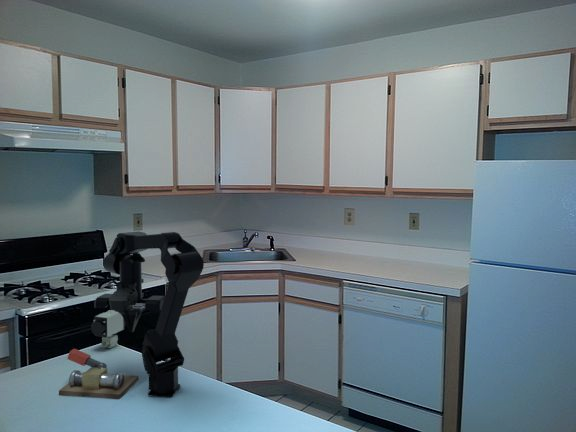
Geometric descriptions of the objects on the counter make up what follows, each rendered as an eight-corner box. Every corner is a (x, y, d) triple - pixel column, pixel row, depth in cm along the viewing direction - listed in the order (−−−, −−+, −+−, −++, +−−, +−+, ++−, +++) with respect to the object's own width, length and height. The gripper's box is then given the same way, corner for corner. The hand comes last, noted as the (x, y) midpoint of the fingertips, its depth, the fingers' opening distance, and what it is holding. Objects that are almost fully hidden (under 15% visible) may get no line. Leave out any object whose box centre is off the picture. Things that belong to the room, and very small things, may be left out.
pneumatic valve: (127, 341, 152) (127, 306, 151) (103, 353, 141) (102, 316, 140) (114, 339, 154) (113, 304, 153) (88, 351, 143) (88, 314, 142)
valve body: (125, 385, 118) (124, 369, 118) (116, 392, 114) (116, 376, 113) (78, 382, 119) (77, 366, 119) (68, 389, 115) (68, 373, 115)
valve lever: (109, 363, 121) (74, 348, 121) (105, 366, 118) (69, 351, 119) (106, 370, 121) (71, 355, 122) (102, 374, 119) (66, 358, 119)
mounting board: (138, 379, 123) (138, 375, 123) (119, 399, 112) (119, 394, 112) (83, 376, 124) (83, 372, 124) (59, 395, 113) (58, 390, 113)
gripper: (82, 282, 117) (83, 340, 119) (151, 285, 115) (151, 344, 117) (104, 273, 128) (105, 327, 130) (167, 276, 126) (167, 330, 128)
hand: (131, 332), depth 126 cm, fingers closed
